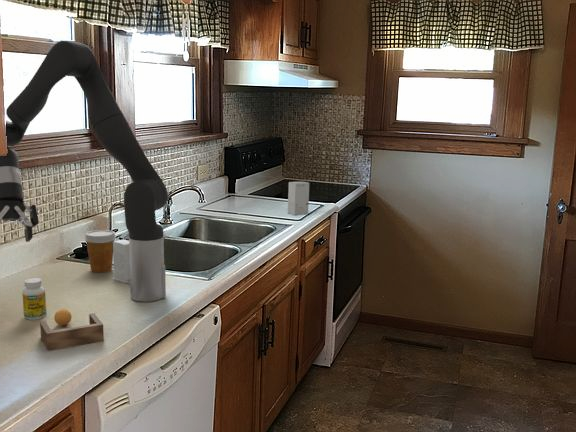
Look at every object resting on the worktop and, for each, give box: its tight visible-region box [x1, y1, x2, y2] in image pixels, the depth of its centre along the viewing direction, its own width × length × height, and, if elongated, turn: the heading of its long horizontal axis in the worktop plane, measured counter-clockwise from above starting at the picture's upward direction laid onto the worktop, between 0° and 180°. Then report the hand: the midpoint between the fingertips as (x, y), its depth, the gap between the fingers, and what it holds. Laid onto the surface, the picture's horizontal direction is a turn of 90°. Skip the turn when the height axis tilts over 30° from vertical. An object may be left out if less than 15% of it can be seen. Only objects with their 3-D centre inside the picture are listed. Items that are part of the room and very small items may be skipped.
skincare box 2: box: [287, 181, 310, 216], centre depth 296 cm, size 8×6×15 cm
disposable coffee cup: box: [83, 229, 117, 273], centre depth 201 cm, size 10×10×12 cm
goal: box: [39, 313, 105, 352], centre depth 148 cm, size 12×8×4 cm, turn 121°
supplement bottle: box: [21, 277, 47, 321], centre depth 161 cm, size 5×5×10 cm
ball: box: [53, 308, 72, 327], centre depth 156 cm, size 4×4×4 cm
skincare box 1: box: [113, 239, 130, 284], centre depth 191 cm, size 6×4×12 cm
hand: (12, 241), depth 174 cm, fingers open, 8 cm apart
